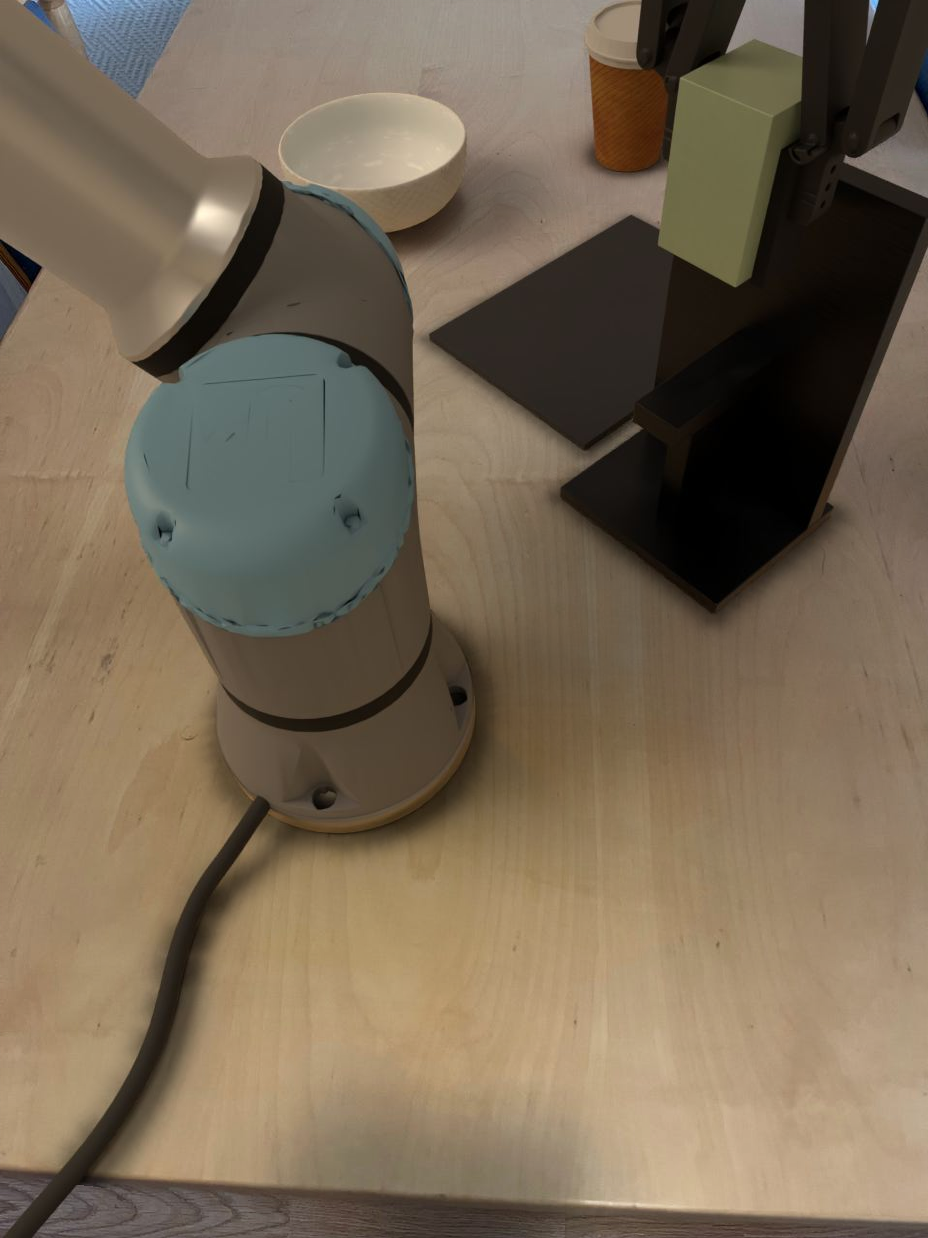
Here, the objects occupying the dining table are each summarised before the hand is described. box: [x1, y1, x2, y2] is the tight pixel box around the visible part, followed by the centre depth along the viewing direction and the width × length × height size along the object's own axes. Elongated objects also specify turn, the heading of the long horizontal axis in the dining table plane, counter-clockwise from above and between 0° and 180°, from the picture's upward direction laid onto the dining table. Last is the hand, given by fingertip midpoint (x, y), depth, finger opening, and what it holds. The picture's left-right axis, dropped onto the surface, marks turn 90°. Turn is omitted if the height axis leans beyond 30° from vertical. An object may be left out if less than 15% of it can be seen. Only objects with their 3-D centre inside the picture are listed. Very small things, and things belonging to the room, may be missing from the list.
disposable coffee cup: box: [583, 0, 668, 172], centre depth 84 cm, size 10×10×12 cm
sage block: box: [658, 38, 803, 287], centre depth 42 cm, size 5×5×8 cm
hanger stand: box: [559, 161, 928, 615], centre depth 53 cm, size 12×14×23 cm
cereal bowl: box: [277, 92, 468, 234], centre depth 83 cm, size 17×17×7 cm
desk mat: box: [428, 214, 673, 451], centre depth 74 cm, size 24×18×1 cm
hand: (727, 249), depth 46 cm, fingers closed on sage block, 5 cm apart
